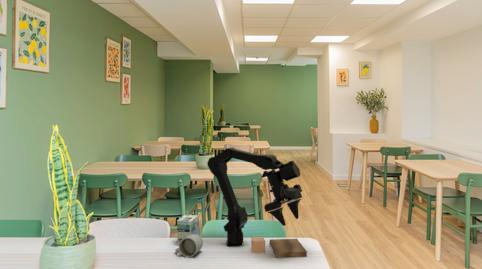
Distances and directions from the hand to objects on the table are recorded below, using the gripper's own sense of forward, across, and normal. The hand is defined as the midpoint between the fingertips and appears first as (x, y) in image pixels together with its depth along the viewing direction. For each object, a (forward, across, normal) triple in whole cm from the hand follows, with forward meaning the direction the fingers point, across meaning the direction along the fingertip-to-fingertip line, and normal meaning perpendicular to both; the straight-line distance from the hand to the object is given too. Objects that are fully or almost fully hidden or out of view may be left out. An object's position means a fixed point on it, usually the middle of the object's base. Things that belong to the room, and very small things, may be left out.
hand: (291, 222), depth 145 cm
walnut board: (+11, +2, +8) cm, 14 cm away
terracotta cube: (+7, -7, +16) cm, 19 cm away
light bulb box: (-5, -18, +44) cm, 48 cm away
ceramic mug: (-2, -27, +33) cm, 43 cm away
